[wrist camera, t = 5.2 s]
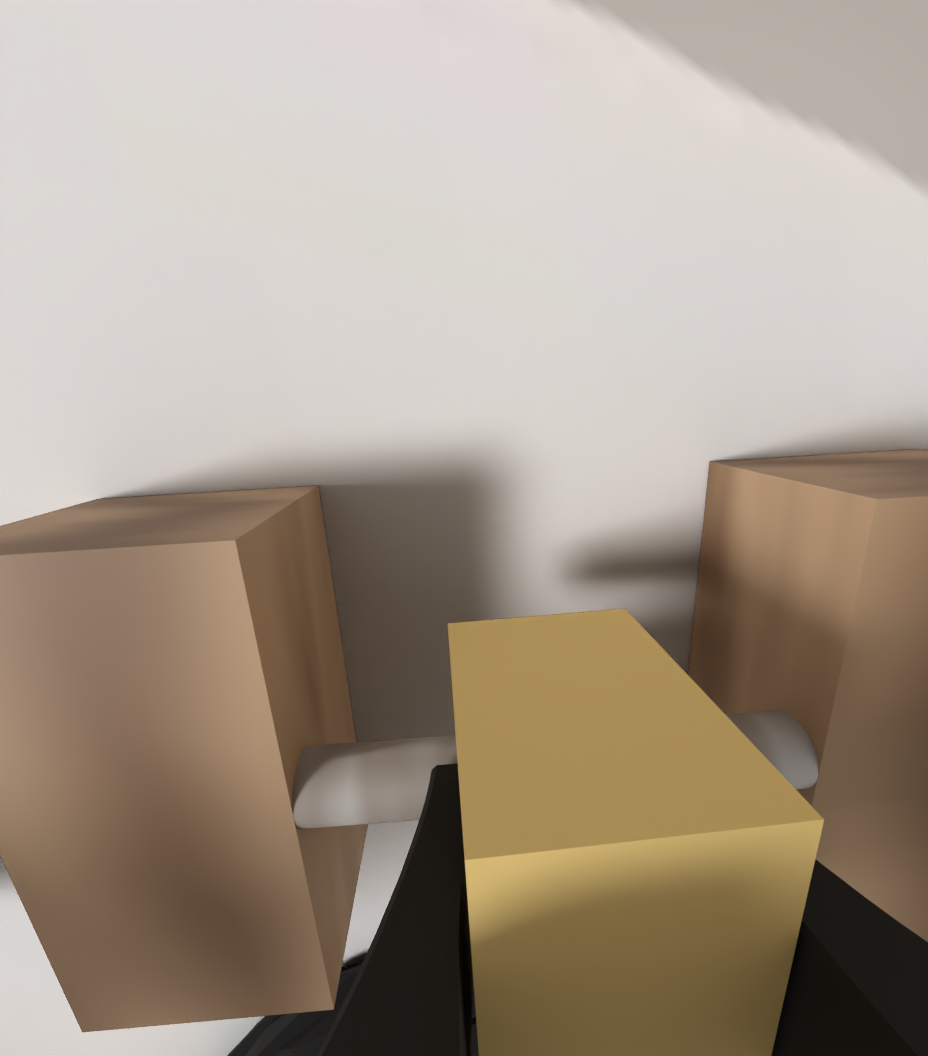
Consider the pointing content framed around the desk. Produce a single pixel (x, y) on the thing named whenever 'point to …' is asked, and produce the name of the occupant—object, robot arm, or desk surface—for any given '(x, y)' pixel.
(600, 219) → the desk surface
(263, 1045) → the cable lock
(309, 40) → the desk surface
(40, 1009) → the desk surface
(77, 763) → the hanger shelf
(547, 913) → the yellow block
